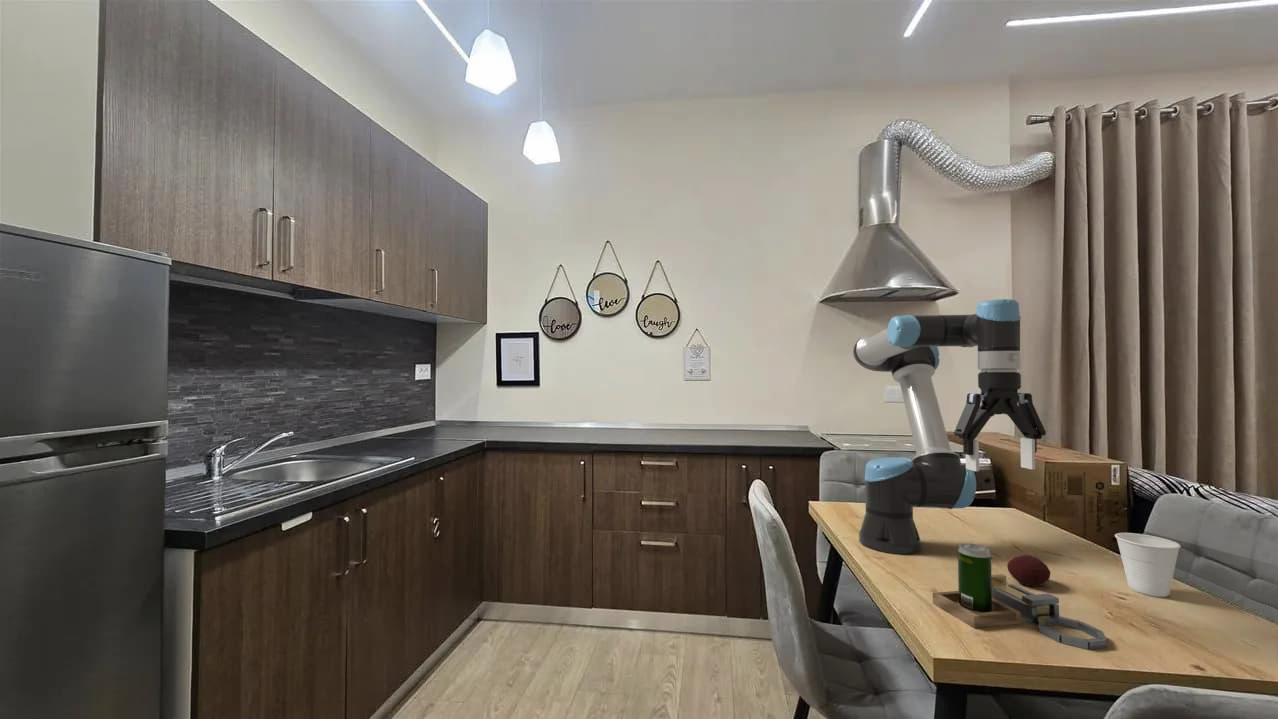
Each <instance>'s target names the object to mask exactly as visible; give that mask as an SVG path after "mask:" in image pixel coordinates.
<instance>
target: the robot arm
mask: <svg viewBox="0 0 1278 719" xmlns="http://www.w3.org/2000/svg"><path fill="white" fill-rule="evenodd" d="M1021 317H1022V316H1021V315H1020V304H1019V302H1018V301H1017V300H1016V299H1015V300H1014V299H1005V298H1003V299H1001V298H1000V299H992V300H990V299H989V300H984V301H980V302H978V305H977V306H976V312H975V313H973V314H939V315H938V314H937V315H931V314H930V315H926V314H925V315H921V314H920V315H913V314H912V315H911V314H904V315H895V316H893V317H892V318H891V319H890V321H889V322H888V326H887V328H886V329H884V330H882V331H879V332H878V333H876V334H872V333H871V334H866V335H864V336H862V337H861V338H860V339H858V340H857V341H856V342H855V344H854V347H853V352H852V353H853V358H854V360H855V361H856V362H857V363H858V364H859V366H861V367H863V368H864V369H867V370H869V371H872V372H882V373H883V372H886V373H888V372H890V373H891V375H892V378H893V380H894V381H895V382H897V383H899V385H900V389H901V394H902V399H903V402H904V408H905V410H906V415H907V419H908V424H909V428H910V432H911V437H912V440H913V445H914V449H915V452H916V454H915V456H914V457H913V458H912V459H910V458H907V457H902V456H901V457H900V456H899V457H895V456H891V457H890V456H889V457H879V458H878V457H877V458H875V459H874V458H873V459H871V460H869V461H868V462H867V463H866V464H865V472H864V473H865V474H864V476H863V477H864V481H865V483H864V484H865V487H864V488H865V491H864V492H865V514H864V517H863V520H862V523H861V528H860V530H859V533H858V537H859V540H858V541H859V543H860V544H861V545H863V546H865V547H866V548H870V549H872V550H876V551H879V552H884V553H889V554H890V553H891V554H901V555H902V554H903V555H904V554H906V555H907V554H915V553H919V552H921V550H922V541H921V540H922V539H921V538H920V535H919V532H918V529H917V527H916V522H915V521H914V508H926V509H927V508H929V509H930V508H932V509H948V510H953V509H965V508H968V507H969V506H970V505H971V504H972V503H973V501H974V499H975V496H976V492H977V478H976V477H977V476H976V473H975V472H980V442H979V441H980V440H978V439H976V438H977V436H978V435H979V434H980V432H981V431H982V430H983V428H984V427H985V426H986V424H987V423H988V422H989V420H990V419H991V418H992V417H994V416H996V415H1006V416H1008V417H1009V419H1010V420H1011V421H1012V422H1013V424H1014V425H1015V426H1016V427H1017V429H1018V430H1019V431H1020V433H1021V434H1022V435H1023V437H1020V442H1019V443H1020V467H1021V468H1024V469H1027V470H1032V471H1033V470H1036V454H1037V452H1038V450H1037V448H1038V445H1037V441H1038V440H1042V438H1043V436H1045V435H1046V434H1047V433H1046V432H1047V431H1046V430H1045V427H1044V425H1043V423H1042V420H1041V418H1040V416H1039V414H1038V412H1037V409H1036V408H1035V407H1036V406H1034V402H1033V395H1032V393H1030V392H1029V393H1026V392H1018V390H1020V389H1021V388H1022V374H1021V373H1020V372H1017V371H1018V370H1020V369H1021ZM938 347H961V348H973V347H977V369H978V370H980V372H979V373H978V374H977V384H978V385H977V387H978V389H980V393H967V394H966V404H965V406H964V408H963V410H962V412H961V415H960V417H959V419H958V421H957V424H956V427H955V429H954V431H953V435H954V436H955V437H958V438H959V439H962V440H963V442H962V446H963V447H962V449H963V450H962V451H963V454H964V455H965V463H962V462H961V458H960V455H959V454H957V453H956V452H954V451H952V450H951V445H950V441H949V438H948V435H947V431H946V427H945V423H944V419H943V417H942V412H941V408H940V406H939V402H938V397H937V394H936V390H935V387H934V383H933V379H932V377H933V376H934V375H935V373H936V370H938V367H939V365H940V357H939V356H940V351H939V348H938Z"/></svg>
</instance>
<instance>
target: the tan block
mask: <svg viewBox="0 0 1278 719" xmlns="http://www.w3.org/2000/svg"><path fill="white" fill-rule="evenodd" d="M991 579H992V586H993V587H995V588H997V589H999V590H1001V591H1004V592H1006V593H1008V594H1010V595H1012V596H1014V597H1016V598H1018V599H1020V600H1022V596H1026V594H1024V593H1022V592H1020V591H1017V590H1015V589H1013V588H1011V587H1009V586H1008V585H1007V575H1004V574H1002V573H1001V574H991ZM1035 607H1037V621H1038V617H1042V616H1050V615H1049V605H1037V606H1035Z"/></svg>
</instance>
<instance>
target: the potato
mask: <svg viewBox="0 0 1278 719" xmlns="http://www.w3.org/2000/svg"><path fill="white" fill-rule="evenodd" d="M1006 566H1007V571H1008V572H1009V574H1010V575H1011V577H1012V578H1014V580H1016V581H1017V582H1019V583H1020V584H1023V585H1026V586H1030V587H1035V586H1036V587H1037V586H1038V587H1039V586H1041V585H1045V584H1046V583H1047V582H1048V581H1050V578H1051V571H1050V569H1049V567H1048V565H1046V564H1045V562H1043V561H1042V560H1041V559H1039V557H1035V556H1034V555H1031V554H1022V555H1018V556H1014V557H1013V558H1012V559H1010V560H1009V561H1008V563H1007V565H1006Z"/></svg>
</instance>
